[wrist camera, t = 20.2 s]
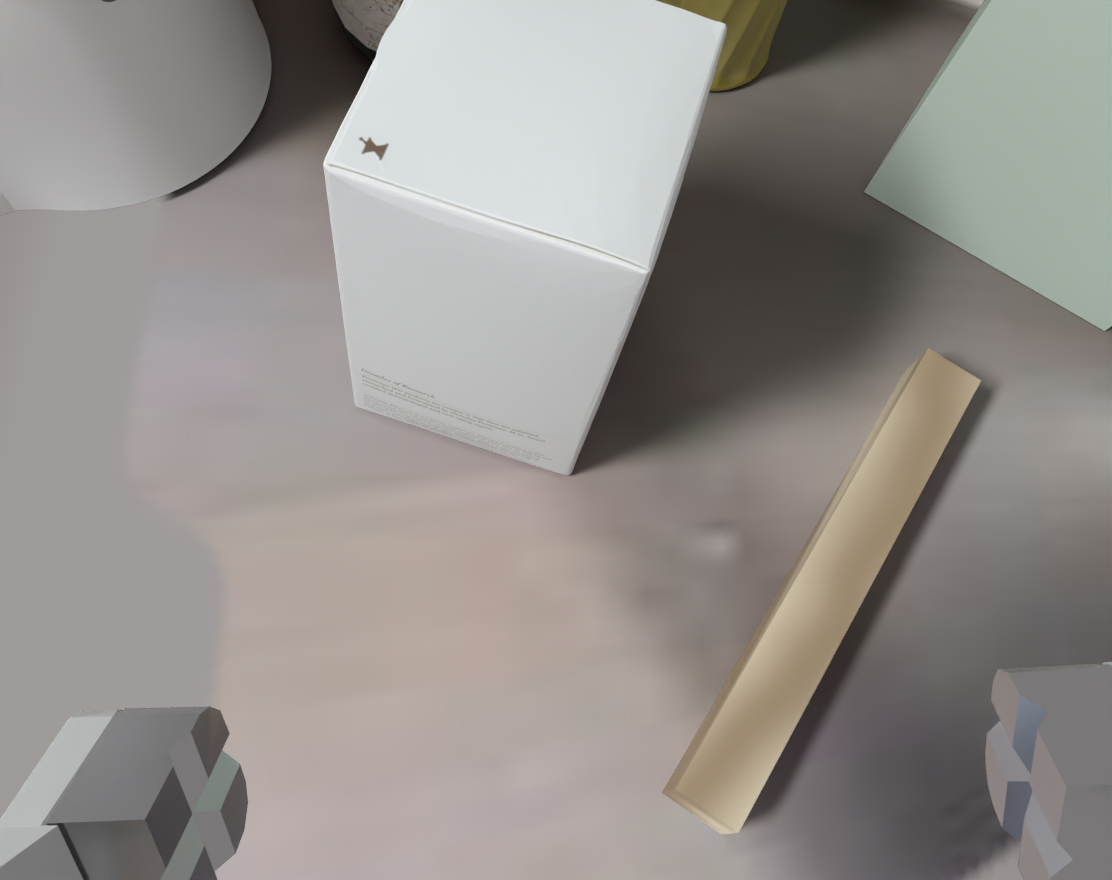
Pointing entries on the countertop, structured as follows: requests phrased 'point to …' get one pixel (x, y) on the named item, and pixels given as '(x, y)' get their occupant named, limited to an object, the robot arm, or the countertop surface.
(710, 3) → the vase
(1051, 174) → the pedestal
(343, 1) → the wine bottle
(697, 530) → the countertop surface
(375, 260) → the supplement box
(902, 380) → the birch bar
